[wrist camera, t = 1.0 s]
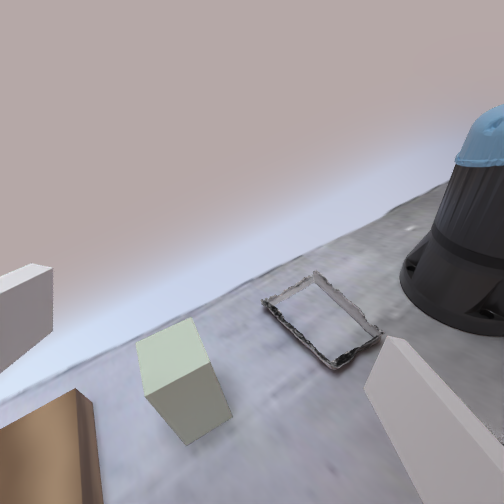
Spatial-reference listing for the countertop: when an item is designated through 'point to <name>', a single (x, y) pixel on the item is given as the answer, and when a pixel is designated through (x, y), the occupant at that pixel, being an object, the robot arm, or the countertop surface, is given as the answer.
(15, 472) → the walnut block
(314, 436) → the countertop surface
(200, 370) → the sage block
